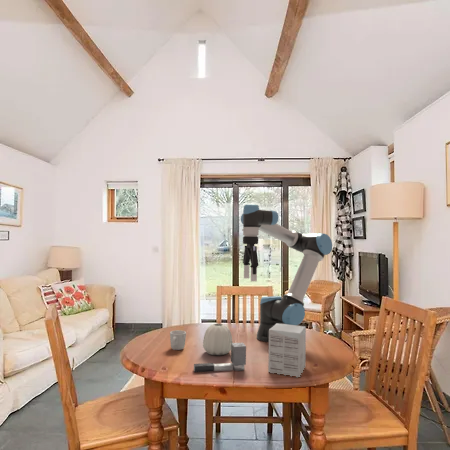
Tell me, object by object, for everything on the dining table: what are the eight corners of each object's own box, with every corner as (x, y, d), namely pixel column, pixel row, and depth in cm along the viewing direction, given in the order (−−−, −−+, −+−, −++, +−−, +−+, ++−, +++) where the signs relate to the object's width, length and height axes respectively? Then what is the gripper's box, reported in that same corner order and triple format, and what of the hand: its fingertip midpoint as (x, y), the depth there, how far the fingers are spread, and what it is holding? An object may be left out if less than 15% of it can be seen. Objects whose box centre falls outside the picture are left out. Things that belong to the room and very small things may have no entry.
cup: (180, 353, 168) (181, 336, 168) (164, 352, 169) (165, 335, 170) (187, 346, 178) (188, 330, 179) (172, 345, 180) (173, 329, 180)
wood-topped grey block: (242, 360, 152) (243, 342, 152) (245, 364, 147) (246, 346, 147) (230, 361, 151) (231, 343, 151) (233, 365, 146) (233, 346, 146)
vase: (210, 359, 160) (211, 329, 161) (198, 350, 172) (199, 322, 173) (237, 355, 166) (238, 326, 167) (223, 347, 179) (224, 320, 179)
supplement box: (275, 362, 157) (276, 322, 158) (305, 367, 152) (306, 326, 153) (267, 372, 145) (268, 329, 146) (300, 378, 140) (300, 333, 141)
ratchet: (242, 366, 152) (242, 352, 152) (245, 370, 147) (245, 355, 147) (193, 368, 148) (193, 354, 148) (194, 373, 143) (195, 358, 143)
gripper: (237, 236, 185) (236, 277, 184) (249, 235, 161) (248, 282, 160) (251, 236, 187) (250, 277, 186) (265, 235, 162) (265, 282, 161)
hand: (249, 279), depth 173 cm, fingers open, 13 cm apart
